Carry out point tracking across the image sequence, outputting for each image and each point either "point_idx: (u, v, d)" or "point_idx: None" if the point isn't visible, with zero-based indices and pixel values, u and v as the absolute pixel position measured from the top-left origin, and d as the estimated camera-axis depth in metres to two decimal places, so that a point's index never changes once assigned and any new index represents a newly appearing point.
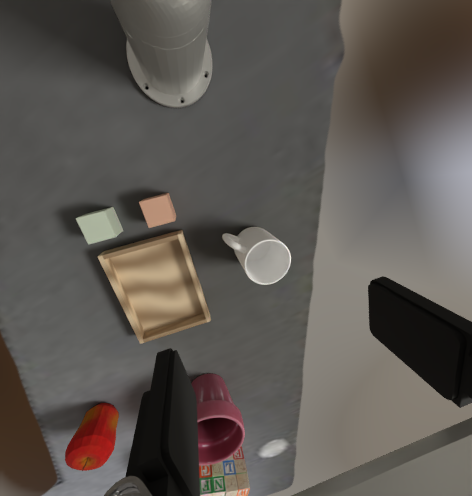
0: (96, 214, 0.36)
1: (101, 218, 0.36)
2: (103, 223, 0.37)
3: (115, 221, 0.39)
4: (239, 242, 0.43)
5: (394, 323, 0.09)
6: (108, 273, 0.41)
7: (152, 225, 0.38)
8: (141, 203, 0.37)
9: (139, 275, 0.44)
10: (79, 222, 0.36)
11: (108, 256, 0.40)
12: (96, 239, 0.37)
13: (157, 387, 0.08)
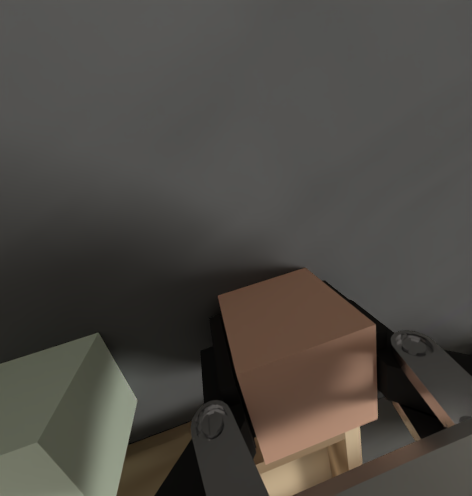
0: None
1: (22, 477, 0.06)
2: (37, 493, 0.07)
3: (108, 406, 0.09)
4: None
5: None
6: None
7: (282, 453, 0.08)
8: (249, 380, 0.07)
9: None
10: None
11: None
12: None
13: (218, 341, 0.09)
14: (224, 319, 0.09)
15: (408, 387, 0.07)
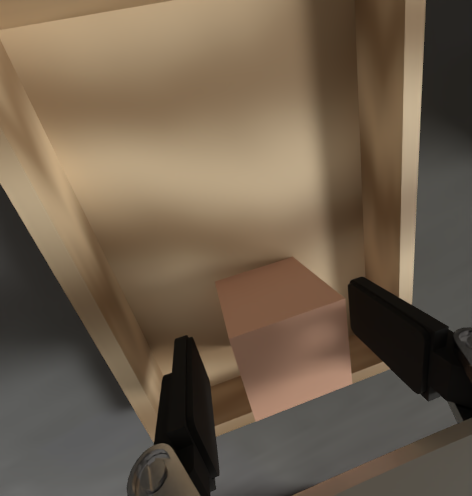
0: None
1: None
2: None
3: None
4: None
5: (370, 321, 0.10)
6: None
7: (270, 411, 0.09)
8: (239, 343, 0.08)
9: (159, 175, 0.10)
10: None
11: None
12: None
13: (178, 368, 0.08)
14: (220, 299, 0.10)
15: (466, 384, 0.07)
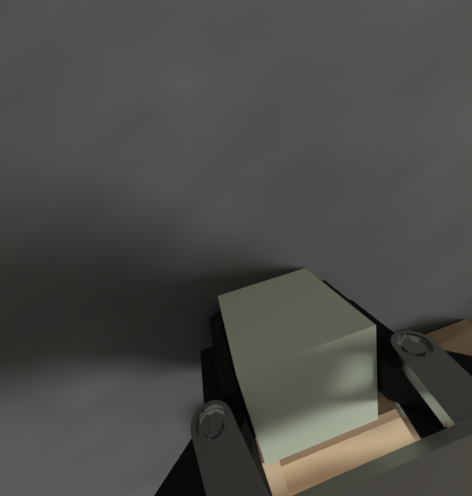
0: (335, 345, 0.07)
1: (351, 359, 0.07)
2: (351, 378, 0.07)
3: None
4: None
5: None
6: None
7: None
8: None
9: (330, 451, 0.15)
10: (250, 390, 0.07)
11: (297, 455, 0.11)
12: (301, 442, 0.08)
13: (218, 341, 0.09)
14: None
15: (408, 387, 0.07)
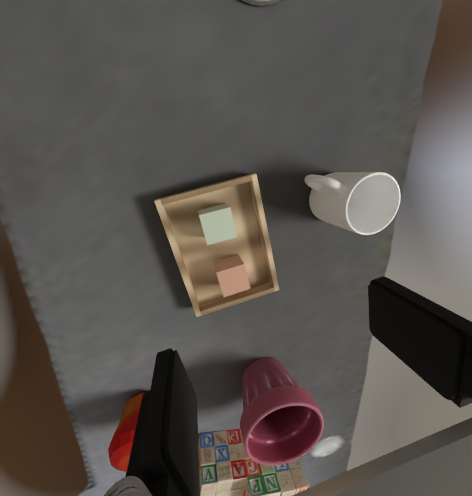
0: (220, 211, 0.31)
1: (225, 215, 0.32)
2: (226, 221, 0.32)
3: None
4: (324, 187, 0.35)
5: (394, 323, 0.09)
6: (165, 224, 0.32)
7: (227, 294, 0.36)
8: (218, 274, 0.34)
9: (197, 231, 0.36)
10: (202, 220, 0.31)
11: (167, 201, 0.32)
12: (216, 239, 0.33)
13: (157, 387, 0.08)
14: (214, 266, 0.36)
15: None
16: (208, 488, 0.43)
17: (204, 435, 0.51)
